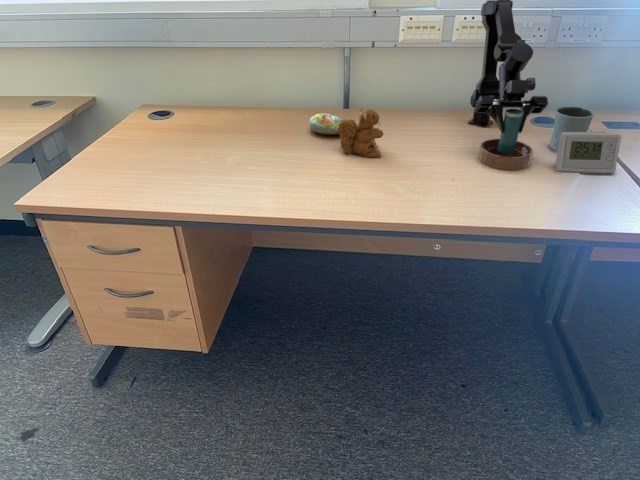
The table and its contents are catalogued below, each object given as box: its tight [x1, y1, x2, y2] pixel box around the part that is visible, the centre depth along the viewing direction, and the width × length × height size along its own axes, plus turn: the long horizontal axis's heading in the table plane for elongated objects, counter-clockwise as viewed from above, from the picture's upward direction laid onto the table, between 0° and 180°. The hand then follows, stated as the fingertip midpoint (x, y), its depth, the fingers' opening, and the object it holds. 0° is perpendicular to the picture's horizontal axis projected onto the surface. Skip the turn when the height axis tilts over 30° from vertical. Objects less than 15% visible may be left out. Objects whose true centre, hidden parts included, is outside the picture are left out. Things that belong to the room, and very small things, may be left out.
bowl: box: [478, 138, 534, 172], centre depth 134 cm, size 14×14×4 cm
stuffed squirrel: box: [337, 108, 384, 158], centre depth 140 cm, size 10×14×13 cm
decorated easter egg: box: [308, 113, 343, 135], centre depth 157 cm, size 11×8×15 cm
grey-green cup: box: [549, 105, 595, 152], centre depth 139 cm, size 10×10×12 cm
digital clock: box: [554, 131, 622, 175], centre depth 127 cm, size 16×9×11 cm, turn 72°
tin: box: [498, 108, 524, 153], centre depth 130 cm, size 5×5×12 cm
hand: (511, 132), depth 129 cm, fingers closed on tin, 4 cm apart
